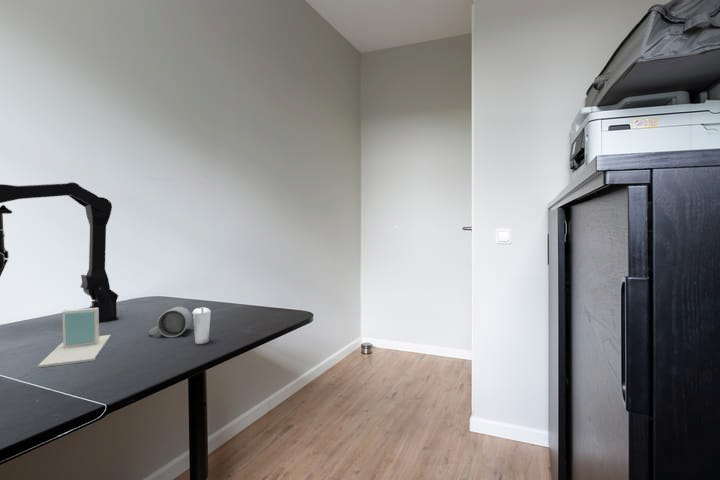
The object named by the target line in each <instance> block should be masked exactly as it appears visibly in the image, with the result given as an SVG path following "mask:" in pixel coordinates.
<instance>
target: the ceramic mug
mask: <svg viewBox="0 0 720 480" xmlns="http://www.w3.org/2000/svg"><path fill="white" fill-rule="evenodd" d="M192 321H193V316H192V312H190V310H189V309H188V308H186V307H183V306H176V307H175V306H174V307H172V308H171V309H168V310H165V311H164V312H163V313H162V314H160V316H159V318H158V319H157V323H156V326H154V327H152V328H151V329H150V330H148V332H149V335H150V336H154V335H157V334H159V333H160V334H161V335H162V336H164V337H166V338H176V337H178V336H181V335H182V334H183V333H184V332H185V331H186V330H187V329H188V328H189V327H190V326H191V324H192Z"/></svg>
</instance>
